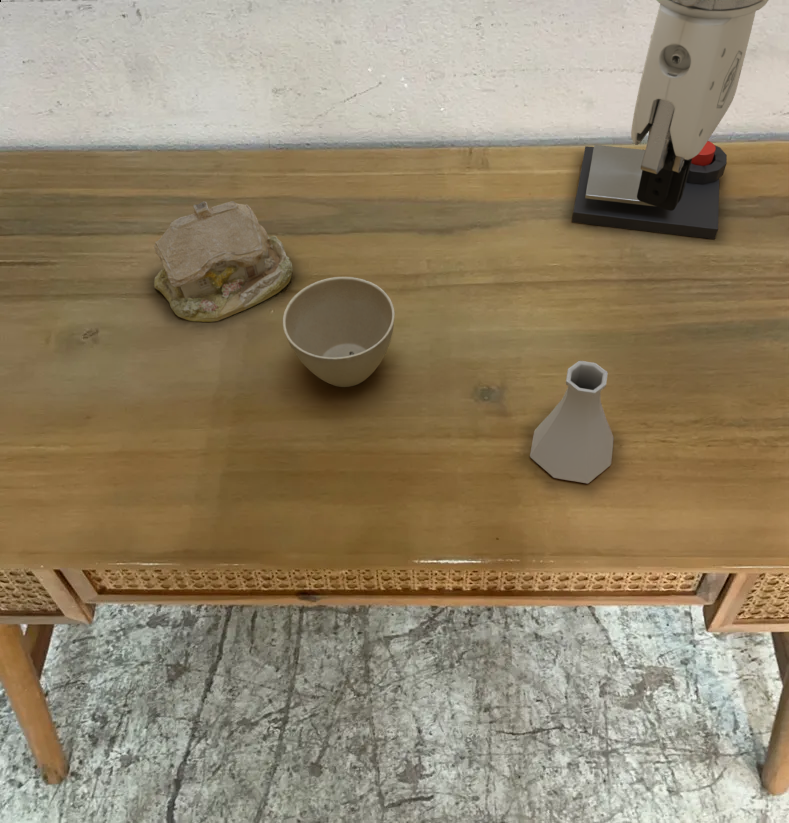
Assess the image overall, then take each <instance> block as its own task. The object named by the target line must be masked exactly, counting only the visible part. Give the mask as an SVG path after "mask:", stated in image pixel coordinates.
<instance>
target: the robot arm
mask: <svg viewBox="0 0 789 823" xmlns="http://www.w3.org/2000/svg"><path fill="white" fill-rule="evenodd" d="M656 2H657V3H658V4H659V8H658V11H657V13H656V18H655V21H654V25H653V29H652V33H651V34H650V41H649V44H648V49H647V52H646V55H645V61H644V65H643V69H642V74H641V78H640V82H639V88H638V91H637V95H636V101H635V105H634V111H633V117H632V124H631V131H630V137H631V141H632V142H633V144H634V145H635V146H638V145H640V144H641V143H642V141H643V140H644V139H645V137H646V136H647V134H648V136H647V142H646V147H645V149H644V150H645V153H644V157H643V160H642V164H641V170H642V175H641V179H640V184H639V188H638V193H637V199H638V200H639V201H641V202H644V203H647V204H650V205H654V206H657V207H660V208H663V209H666V210H670V211H672V210H674V209H675V207H676V206H677V204H678V202H679V201H680V200H681V198H682V195H683V191H684V188H685V184H686V180H687V177H688V173H689V169H690V165H691V162H692V159H691V158H693V157H695V156H696V155H698V154H699V153H700V151H701V150H702V148H703V147H704V146H705V144H706V143H707V141H710V138H711V136H712V135H713V134H714V132H715V130H716V129H717V127H718V126H719V125H720V123H721V121H722V119H723V118H724V116H725V115H726V113H727V111H728V110H729V108H730V107H731V105H732V103H733V101H734V98H735V95H736V93H737V89H738V85H739V82H740V77H741V73H742V70H743V65H744V61H745V58H746V53H747V50H748V45H749V41H750V39H751V38H750V37H751V33H752V29H753V25H754V22H755V16H756V12H757V11H759V10H761V9H762V8H763V7H765V6H766V5H767V3H769V0H656Z"/></svg>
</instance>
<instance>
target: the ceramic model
mask: <svg viewBox="0 0 789 823" xmlns="http://www.w3.org/2000/svg"><path fill="white" fill-rule="evenodd" d="M192 208H193V211H194V212H193V213H192V214H188V215H184V216H180V217H178V218H176V219H174V220H173V221H171V222H170V224H169V227H168V228H167V229H166V230H165V231H164V233H163V234H162V235H161V237H160V238H159V239H158V240H155V241H154V242H155V243H154V244H153V248H154V251H155V254H156V256H157V257H158V258H159V260H160V262H161V265H162V266H163V268H162V269H160V271H159V272H157V274H156V276H155V277H154V283H153V287H154V289H155V290H157V291H159V292H160V293H161V294H162V295H163V297H164V298H165V299H166V300H167V302H168V303H169V306H170V309H171V310H172V312H173V313H174V314H175V315H176V316H177V317H178V318H181V319H182V320H186V321H189V322H198V323H200V322H202V323H205V322H206V323H212V322H219V321H222V320H223V319H226V318H229V317H231V316H233V315H236V314H238V313H241V312H244V311H245V310H248V309H250V308H252V307H254V306H256V305H258V304H260V303H262V302H265V301H266V300H268V299H270V298H272V297H274V296H275V295H277V294H278V293H281V291H282V290H283V289H285V288H286V287H287V285H289V283H290V281H291V279H292V272H293V263H292V261H291V260H290V259H291V257H289V256H288V255H287V253H286V250H285V246H284V244H283V242H282V241H281V240H280V239H279V238H278V237H277V235H275V234H274V235H270V236H269V235H268V232H267V231H266V229H265V227H264V226H262V225H261V224H260V222H259V220H258V217H257V215H256V213H255V212H254V210H253V209H252V207H251V206H249V204H246V203H245V204H242V203H238V202H235V201H233V200H232V201H227V202H223V203H221V204H218V205H214V206H212V207H209V205H208V202H207V201H204V200H203V201H201V202H200V203H198V204H193V205H192Z"/></svg>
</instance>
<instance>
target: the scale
mask: <svg viewBox="0 0 789 823" xmlns="http://www.w3.org/2000/svg"><path fill="white" fill-rule="evenodd" d="M714 145H715V147H716V150H715V153H714V157H713V160H712V162H711V163H710V164H709V165H706V166H700V165H694V164H692V163H691V165H690V169H689V173H688V177H687V180H686V184H685V188H684V191H683V195H682V198H681V200H680V201H679V202H678V204H677V206H676V207H675V209H674V210H672V211H670V210H666V209H663V208H660V207H656V206H647V205H638V204H630V203H621V202H612V201H604V200H595V199H586V198H585V196H586V190H587V185H588V179H589V173H590V167H591V161H592V156H593V150H594V146H589V145H588V146H587V145H585V146H584V152H583V155H582V156H583V157H582V163H581V168H580V172H579V173H580V174H579V179H578V184H577V188H576V195H575V201H574V206H573V212H572V217H571V223H574V224H575V223H576V224H584V225H593V226H601V227H610V228H616V229H625V230H633V231H642V232H650V233H658V234H659V233H660V234H667V235H675V236H683V237H691V238H701V239H707V240H715V239H716V237H717V234H718V230H719V208H720V203H719V202H720V178H721V177H722V176H724V173H725V169H726V167H727V160H728V159H727V158H728V155H727V154H726V152H725V151H724V150H723V149H722V148H721V147H720V146H718V145H716V144H714Z"/></svg>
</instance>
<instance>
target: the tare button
mask: <svg viewBox="0 0 789 823" xmlns="http://www.w3.org/2000/svg"><path fill="white" fill-rule="evenodd" d="M715 145H716V144H714V143H713V142H711V141H710V140H708V141H707V143H706V144H705V146H704V147H703V148H702V150H701V151H700V153H699V154H698V155H696V156H695V157H693V158H691V159H692V162H691V163H692V164H694V165H700V166H706V165H709V164H710V163H711V162H712V160H713V157H714V153H715V150H716V147H715Z"/></svg>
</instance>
